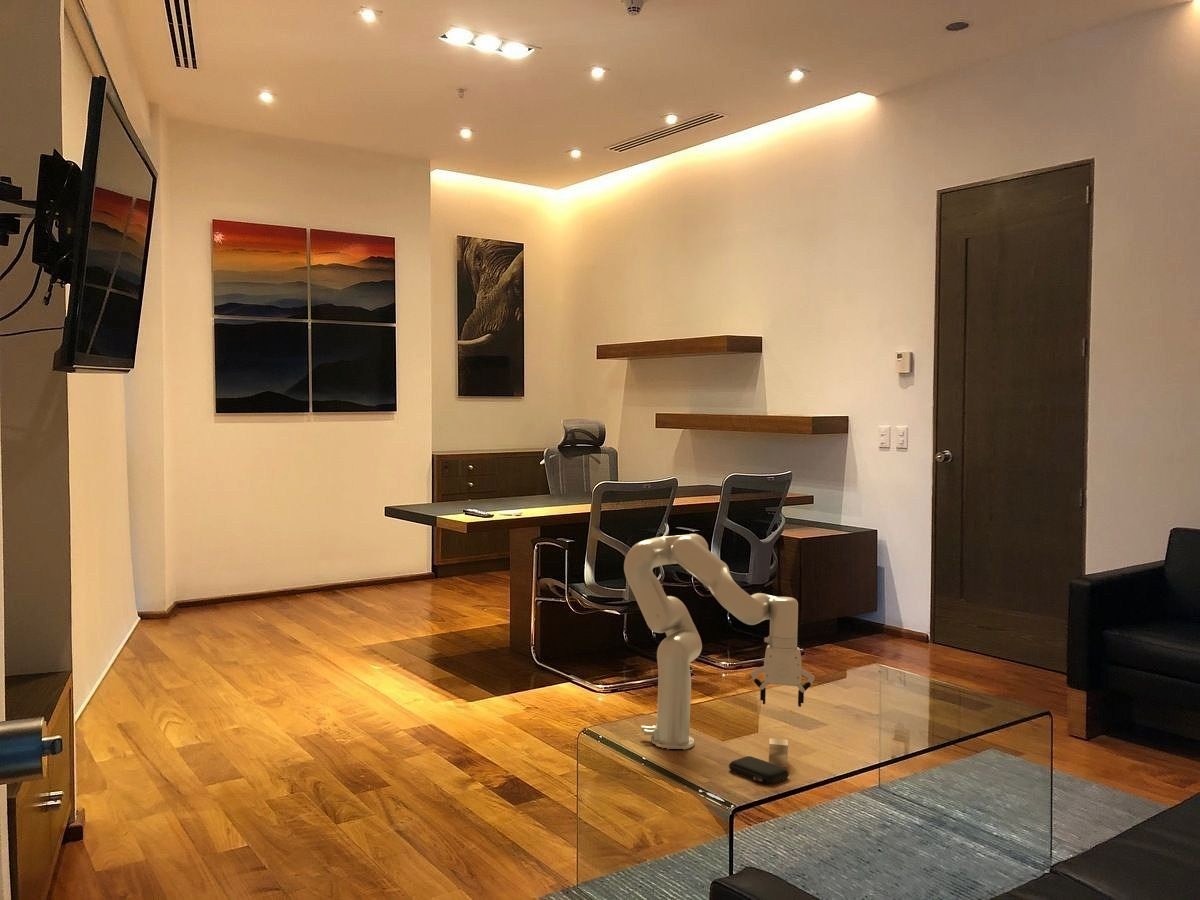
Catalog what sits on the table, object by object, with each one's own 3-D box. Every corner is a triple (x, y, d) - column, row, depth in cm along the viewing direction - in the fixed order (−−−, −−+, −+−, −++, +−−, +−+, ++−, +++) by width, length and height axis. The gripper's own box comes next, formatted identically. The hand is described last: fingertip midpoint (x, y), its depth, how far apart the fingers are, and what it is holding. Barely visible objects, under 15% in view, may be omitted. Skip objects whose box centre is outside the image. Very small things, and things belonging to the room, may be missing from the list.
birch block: (768, 765, 258) (769, 743, 258) (768, 759, 263) (769, 738, 263) (787, 767, 257) (788, 745, 257) (786, 761, 262) (787, 739, 262)
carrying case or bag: (722, 772, 252) (767, 789, 241) (722, 761, 252) (767, 777, 241) (747, 764, 259) (791, 780, 249) (747, 753, 259) (792, 768, 249)
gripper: (751, 643, 257) (749, 705, 257) (816, 647, 254) (814, 710, 254) (751, 637, 264) (750, 698, 265) (814, 641, 261) (813, 702, 262)
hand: (781, 704), depth 260 cm, fingers open, 9 cm apart
